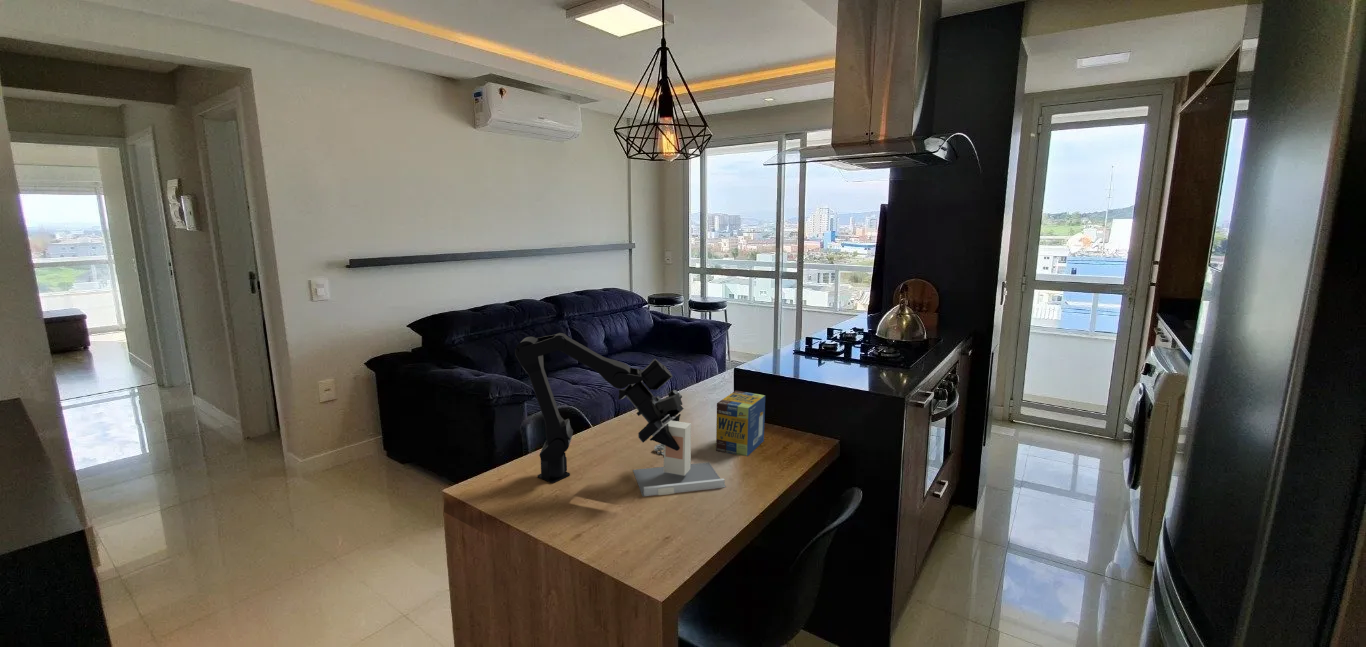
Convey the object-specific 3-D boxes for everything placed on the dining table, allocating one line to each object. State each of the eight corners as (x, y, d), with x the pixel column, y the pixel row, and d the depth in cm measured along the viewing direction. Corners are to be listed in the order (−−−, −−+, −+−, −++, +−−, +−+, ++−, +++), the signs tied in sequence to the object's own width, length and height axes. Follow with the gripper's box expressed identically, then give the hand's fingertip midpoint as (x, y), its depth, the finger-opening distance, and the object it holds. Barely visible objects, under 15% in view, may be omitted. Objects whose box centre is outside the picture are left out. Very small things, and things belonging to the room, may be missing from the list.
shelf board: (642, 502, 141) (642, 489, 141) (632, 474, 157) (632, 463, 156) (726, 493, 147) (726, 480, 146) (708, 467, 162) (709, 455, 162)
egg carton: (671, 463, 165) (671, 450, 164) (651, 457, 170) (651, 444, 169) (692, 452, 174) (692, 439, 173) (672, 446, 178) (672, 434, 177)
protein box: (715, 451, 174) (716, 402, 171) (734, 435, 187) (735, 389, 185) (747, 457, 169) (748, 408, 166) (764, 440, 182) (766, 394, 180)
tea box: (663, 472, 152) (663, 425, 149) (670, 465, 156) (670, 420, 154) (684, 475, 149) (684, 428, 147) (690, 469, 154) (691, 423, 152)
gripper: (649, 392, 141) (690, 441, 139) (677, 375, 159) (713, 417, 157) (621, 419, 146) (660, 466, 144) (651, 398, 163) (686, 440, 161)
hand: (682, 446), depth 151 cm, fingers closed on tea box, 5 cm apart
